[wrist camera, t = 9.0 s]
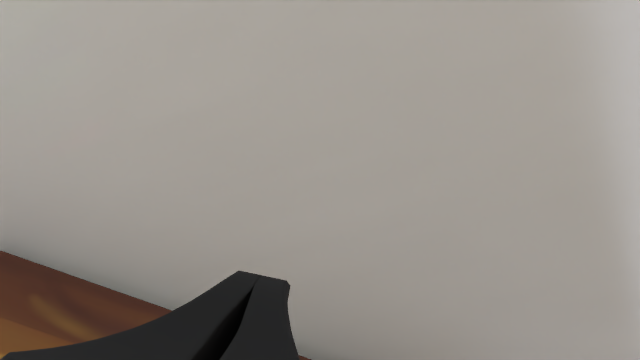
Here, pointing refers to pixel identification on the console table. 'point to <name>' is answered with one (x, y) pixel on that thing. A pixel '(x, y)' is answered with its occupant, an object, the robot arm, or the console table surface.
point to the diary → (61, 308)
